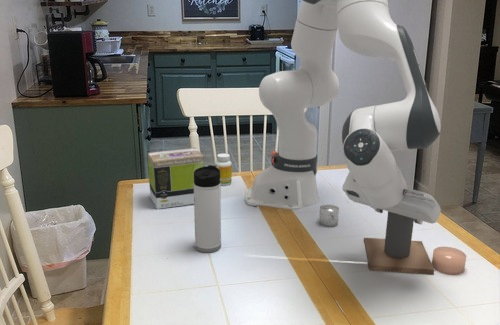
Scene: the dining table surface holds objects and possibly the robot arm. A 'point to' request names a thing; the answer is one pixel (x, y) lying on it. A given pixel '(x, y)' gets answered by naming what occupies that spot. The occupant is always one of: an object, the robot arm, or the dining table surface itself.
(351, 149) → the robot arm
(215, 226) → the travel mug
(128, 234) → the dining table surface
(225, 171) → the supplement bottle
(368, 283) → the dining table surface
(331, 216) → the tin
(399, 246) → the bottle
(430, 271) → the board
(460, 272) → the peach dome knob
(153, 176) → the tea box
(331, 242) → the dining table surface
